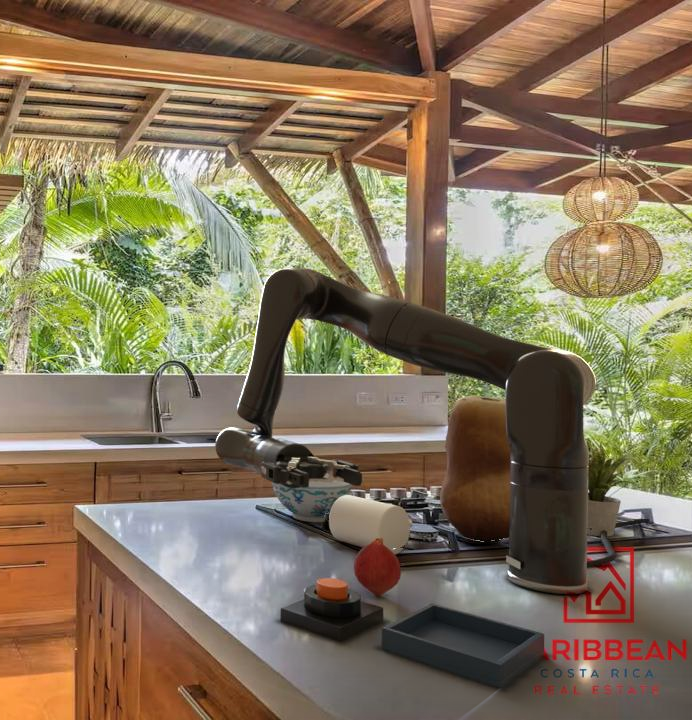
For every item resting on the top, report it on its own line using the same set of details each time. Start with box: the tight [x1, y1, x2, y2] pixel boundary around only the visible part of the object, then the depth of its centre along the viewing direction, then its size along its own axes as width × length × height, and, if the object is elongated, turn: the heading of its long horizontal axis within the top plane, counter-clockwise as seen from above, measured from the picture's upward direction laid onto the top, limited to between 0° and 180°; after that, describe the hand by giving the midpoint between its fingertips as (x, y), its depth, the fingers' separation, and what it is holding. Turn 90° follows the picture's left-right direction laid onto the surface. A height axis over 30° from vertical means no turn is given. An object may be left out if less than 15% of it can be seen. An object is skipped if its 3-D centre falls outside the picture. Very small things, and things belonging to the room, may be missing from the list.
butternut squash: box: [439, 395, 511, 544], centre depth 126 cm, size 14×13×25 cm
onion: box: [353, 537, 402, 597], centre depth 99 cm, size 6×6×8 cm
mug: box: [328, 494, 413, 555], centre depth 123 cm, size 12×10×8 cm
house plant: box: [586, 441, 648, 537], centre depth 130 cm, size 14×14×16 cm
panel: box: [280, 584, 384, 643], centre depth 90 cm, size 10×8×4 cm
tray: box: [381, 602, 545, 689], centre depth 81 cm, size 12×12×2 cm
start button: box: [316, 577, 349, 600], centre depth 90 cm, size 4×4×2 cm
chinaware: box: [271, 472, 353, 523], centre depth 143 cm, size 15×15×8 cm
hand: (333, 480), depth 110 cm, fingers open, 8 cm apart
